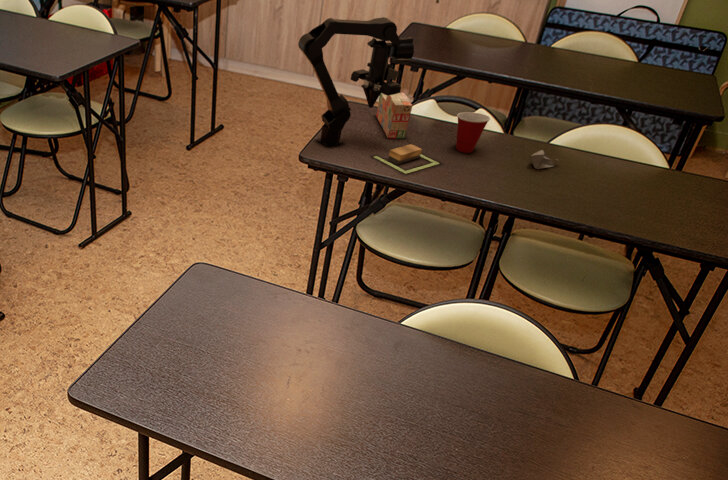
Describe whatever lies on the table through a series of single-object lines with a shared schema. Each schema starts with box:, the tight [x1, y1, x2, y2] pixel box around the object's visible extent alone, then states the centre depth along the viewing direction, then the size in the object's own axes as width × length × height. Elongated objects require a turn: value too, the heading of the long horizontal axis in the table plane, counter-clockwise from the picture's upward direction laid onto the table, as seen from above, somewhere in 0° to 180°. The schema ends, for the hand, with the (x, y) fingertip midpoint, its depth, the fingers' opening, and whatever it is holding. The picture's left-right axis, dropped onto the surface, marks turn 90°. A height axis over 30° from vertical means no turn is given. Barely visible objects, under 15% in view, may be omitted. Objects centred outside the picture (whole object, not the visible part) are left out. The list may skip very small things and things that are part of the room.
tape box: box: [373, 153, 440, 175], centre depth 233 cm, size 16×15×1 cm
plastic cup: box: [455, 111, 491, 154], centre depth 237 cm, size 11×11×12 cm
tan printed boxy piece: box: [375, 92, 413, 139], centre depth 251 cm, size 21×6×12 cm, turn 0°
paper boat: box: [529, 149, 559, 170], centre depth 228 cm, size 12×6×9 cm
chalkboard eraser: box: [388, 143, 423, 165], centre depth 233 cm, size 10×5×4 cm, turn 122°
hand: (370, 107), depth 237 cm, fingers closed
